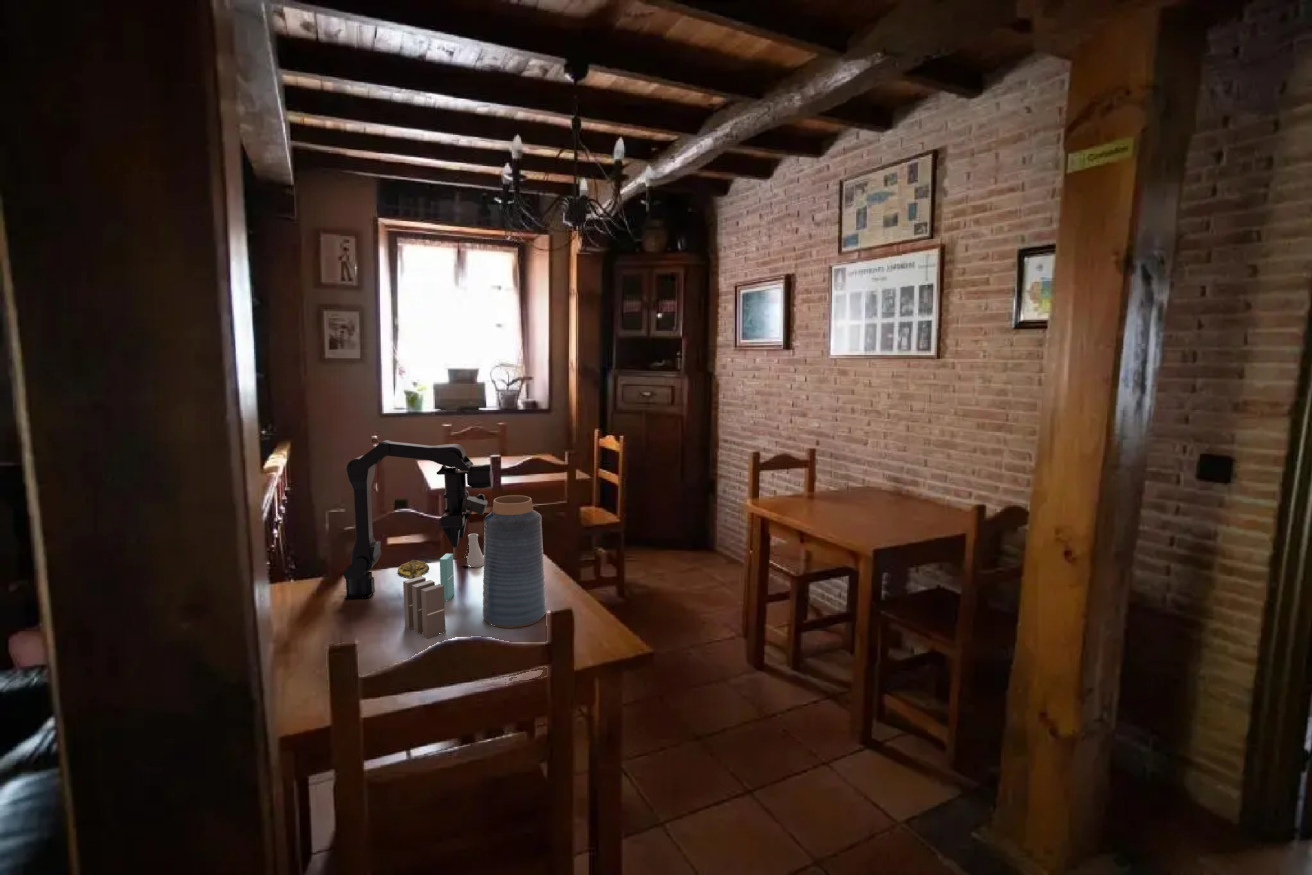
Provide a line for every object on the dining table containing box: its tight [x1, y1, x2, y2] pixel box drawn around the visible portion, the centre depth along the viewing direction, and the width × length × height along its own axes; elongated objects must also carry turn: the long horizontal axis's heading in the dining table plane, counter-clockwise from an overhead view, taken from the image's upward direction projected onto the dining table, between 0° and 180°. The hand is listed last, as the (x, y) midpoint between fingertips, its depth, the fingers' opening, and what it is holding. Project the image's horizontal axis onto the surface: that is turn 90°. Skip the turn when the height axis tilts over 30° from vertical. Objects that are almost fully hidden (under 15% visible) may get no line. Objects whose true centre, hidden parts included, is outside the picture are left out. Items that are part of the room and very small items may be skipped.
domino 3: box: [421, 583, 446, 639], centre depth 160 cm, size 2×5×12 cm, turn 140°
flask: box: [466, 533, 484, 569], centre depth 212 cm, size 7×7×10 cm
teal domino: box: [439, 553, 455, 601], centre depth 184 cm, size 2×5×12 cm, turn 178°
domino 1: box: [402, 576, 427, 630], centre depth 166 cm, size 2×5×12 cm, turn 140°
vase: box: [482, 494, 547, 629], centre depth 170 cm, size 16×16×32 cm
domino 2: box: [412, 579, 436, 635], centre depth 163 cm, size 2×5×12 cm, turn 140°
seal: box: [397, 559, 430, 579], centre depth 206 cm, size 9×5×15 cm
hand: (458, 542), depth 187 cm, fingers open, 9 cm apart
